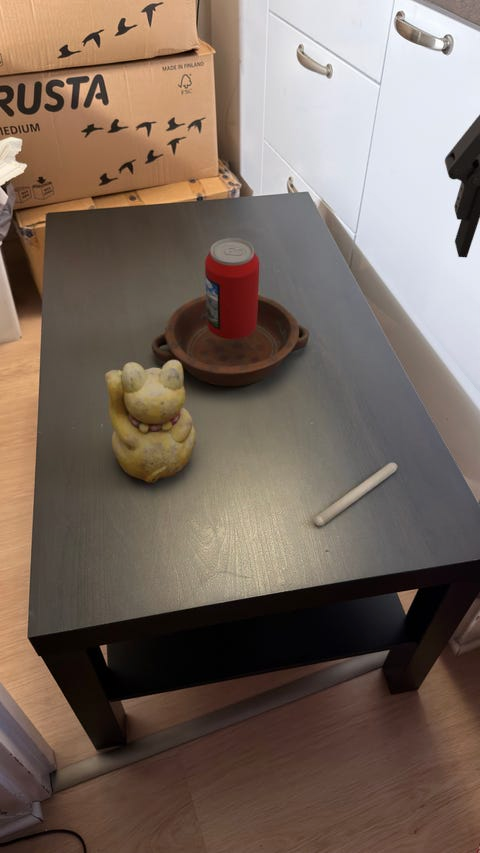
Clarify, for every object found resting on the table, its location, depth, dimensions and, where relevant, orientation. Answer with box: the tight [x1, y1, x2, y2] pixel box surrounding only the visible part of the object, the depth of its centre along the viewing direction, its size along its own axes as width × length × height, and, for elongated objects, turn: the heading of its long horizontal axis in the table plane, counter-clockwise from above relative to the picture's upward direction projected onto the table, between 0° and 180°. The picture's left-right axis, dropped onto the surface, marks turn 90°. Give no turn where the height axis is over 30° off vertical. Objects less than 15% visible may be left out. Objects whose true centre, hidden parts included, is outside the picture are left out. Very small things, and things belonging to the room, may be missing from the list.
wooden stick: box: [314, 461, 398, 527], centre depth 72 cm, size 1×13×1 cm, turn 130°
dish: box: [151, 294, 310, 387], centre depth 86 cm, size 18×22×5 cm
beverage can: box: [204, 237, 260, 339], centre depth 80 cm, size 7×7×12 cm
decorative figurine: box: [104, 360, 197, 483], centre depth 69 cm, size 10×8×15 cm
